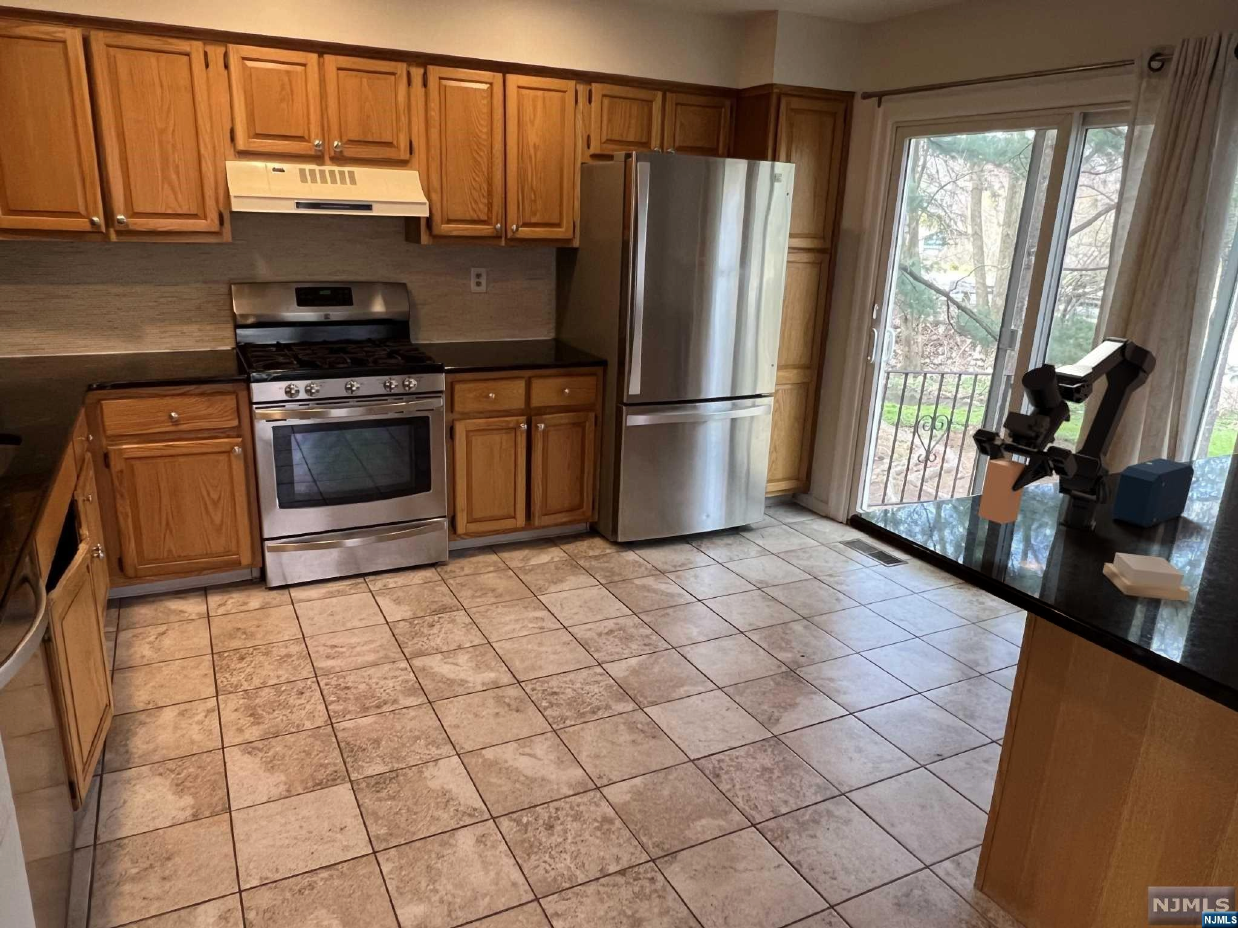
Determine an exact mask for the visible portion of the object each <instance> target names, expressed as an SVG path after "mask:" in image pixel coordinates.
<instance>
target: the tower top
mask: <svg viewBox="0 0 1238 928" xmlns="http://www.w3.org/2000/svg"><path fill="white" fill-rule="evenodd" d="M1112 564H1113V566H1114V567H1115V568H1116V569H1117V570H1118V571H1119V572H1120V573H1121V574H1123V575H1124V576H1125V577H1126V578H1127V579H1128V580H1129V581H1130V582H1131V583H1139V584H1148V585H1157V586H1165V587H1174V588H1180V587H1181V585H1182V584H1183V580H1184V573H1182V572H1181V571H1180V570H1178V569H1177V568H1176V567H1175V566H1174V565H1173V564H1172V563H1170V562H1169V561H1168V560H1167V559H1165V558H1164V557H1159V556H1157V557H1156V556H1151V555H1150V556H1148V555H1141V554H1130V553H1125V552H1115V555H1114V560H1113V563H1112Z"/></svg>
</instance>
